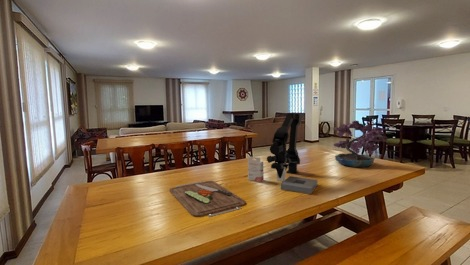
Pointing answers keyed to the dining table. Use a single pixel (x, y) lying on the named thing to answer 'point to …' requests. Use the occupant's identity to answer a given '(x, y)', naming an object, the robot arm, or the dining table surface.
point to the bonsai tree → (358, 144)
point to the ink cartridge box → (255, 169)
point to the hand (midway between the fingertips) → (281, 177)
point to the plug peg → (281, 176)
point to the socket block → (299, 184)
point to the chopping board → (206, 198)
